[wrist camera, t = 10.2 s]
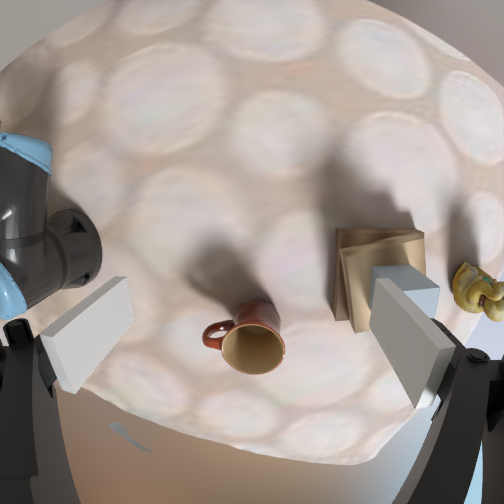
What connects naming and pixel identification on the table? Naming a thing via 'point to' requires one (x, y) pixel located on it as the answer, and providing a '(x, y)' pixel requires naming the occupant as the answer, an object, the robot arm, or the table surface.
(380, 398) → the table surface
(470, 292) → the decorative figurine
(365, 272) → the slab upper
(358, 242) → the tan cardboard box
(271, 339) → the mug
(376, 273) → the block
